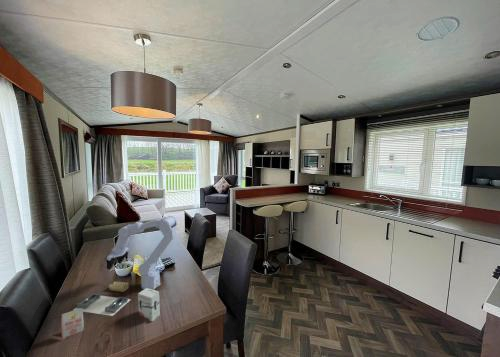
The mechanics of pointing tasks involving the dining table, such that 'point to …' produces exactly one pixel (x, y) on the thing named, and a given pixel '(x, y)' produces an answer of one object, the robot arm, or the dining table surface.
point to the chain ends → (94, 297)
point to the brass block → (118, 286)
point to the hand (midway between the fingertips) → (113, 265)
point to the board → (101, 306)
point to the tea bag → (71, 323)
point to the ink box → (149, 304)
